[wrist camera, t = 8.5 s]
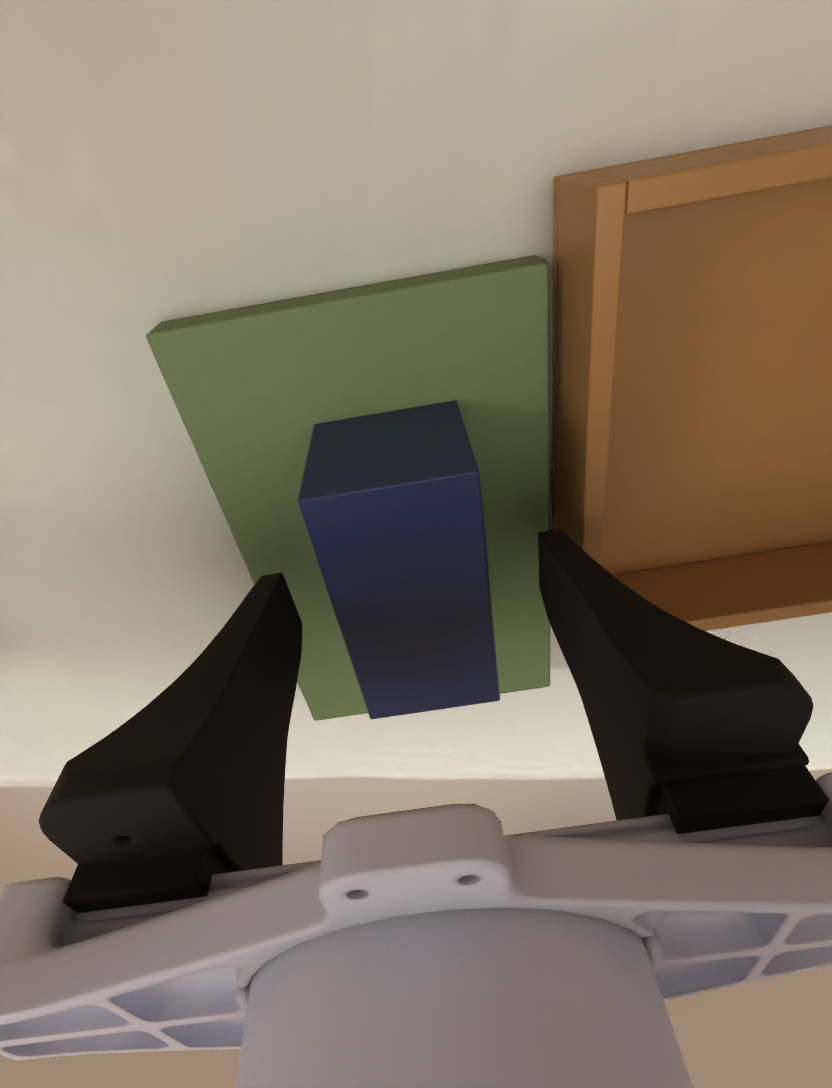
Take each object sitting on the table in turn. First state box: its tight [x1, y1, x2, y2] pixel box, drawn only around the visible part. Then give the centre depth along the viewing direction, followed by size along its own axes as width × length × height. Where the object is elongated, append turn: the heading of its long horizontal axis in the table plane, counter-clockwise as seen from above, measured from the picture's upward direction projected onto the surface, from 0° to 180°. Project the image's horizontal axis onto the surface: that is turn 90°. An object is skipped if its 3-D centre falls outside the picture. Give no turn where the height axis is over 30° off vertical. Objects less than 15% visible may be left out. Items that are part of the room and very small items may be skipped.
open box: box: [553, 126, 832, 631], centre depth 15 cm, size 13×13×3 cm
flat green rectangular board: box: [146, 255, 550, 720], centre depth 18 cm, size 10×16×1 cm, turn 9°
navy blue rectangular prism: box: [298, 401, 500, 719], centre depth 16 cm, size 4×8×4 cm, turn 9°
